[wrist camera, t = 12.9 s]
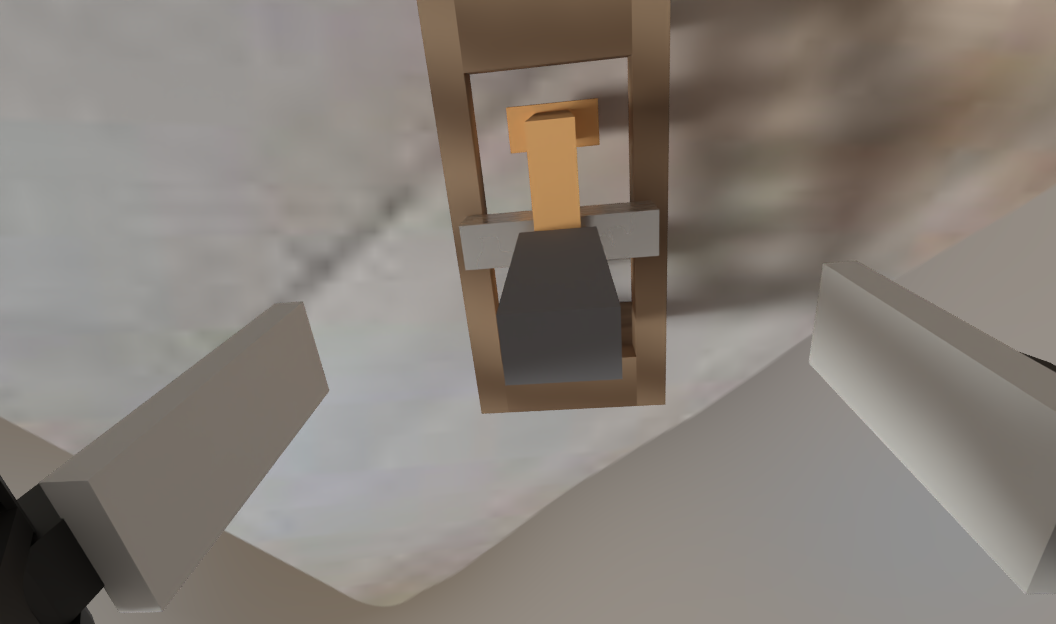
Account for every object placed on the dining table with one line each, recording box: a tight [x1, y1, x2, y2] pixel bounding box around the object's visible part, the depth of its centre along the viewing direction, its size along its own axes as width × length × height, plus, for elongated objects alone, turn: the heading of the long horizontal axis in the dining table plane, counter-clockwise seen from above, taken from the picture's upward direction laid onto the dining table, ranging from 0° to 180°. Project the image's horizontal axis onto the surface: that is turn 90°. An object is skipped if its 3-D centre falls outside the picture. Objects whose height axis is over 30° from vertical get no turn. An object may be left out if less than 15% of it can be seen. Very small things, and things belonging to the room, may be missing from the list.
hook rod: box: [459, 200, 659, 270], centre depth 23 cm, size 2×8×2 cm, turn 96°
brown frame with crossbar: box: [417, 0, 670, 414], centre depth 28 cm, size 20×10×11 cm, turn 5°
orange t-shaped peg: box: [496, 98, 623, 386], centre depth 22 cm, size 11×5×20 cm, turn 5°
